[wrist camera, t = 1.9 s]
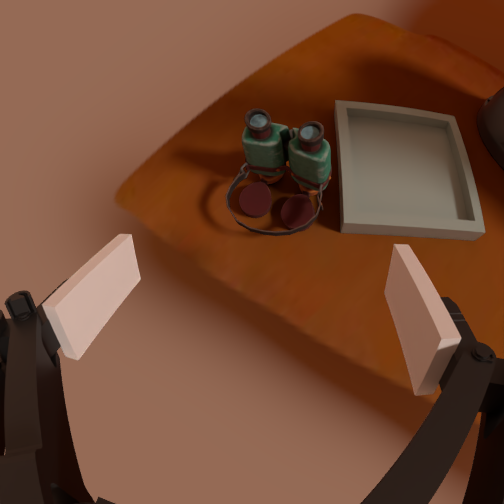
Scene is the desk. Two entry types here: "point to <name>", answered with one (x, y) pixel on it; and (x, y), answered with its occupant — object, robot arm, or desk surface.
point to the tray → (404, 173)
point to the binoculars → (282, 169)
